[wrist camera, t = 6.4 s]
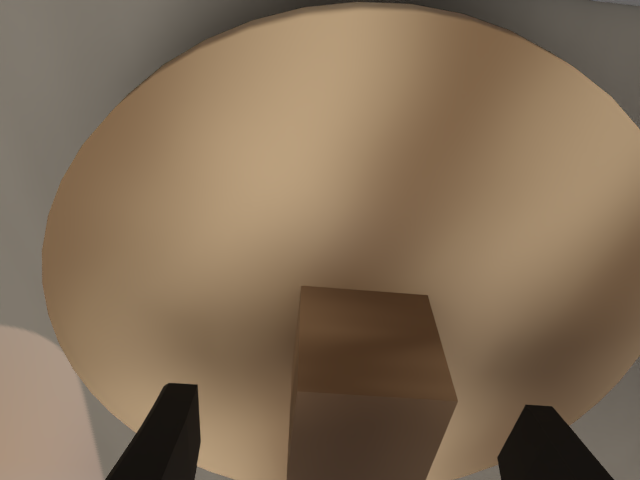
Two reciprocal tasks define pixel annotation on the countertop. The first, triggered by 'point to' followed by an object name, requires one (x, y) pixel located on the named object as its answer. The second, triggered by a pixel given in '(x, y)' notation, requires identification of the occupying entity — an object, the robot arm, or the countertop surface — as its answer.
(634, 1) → the mat
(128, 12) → the countertop surface
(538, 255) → the lid
